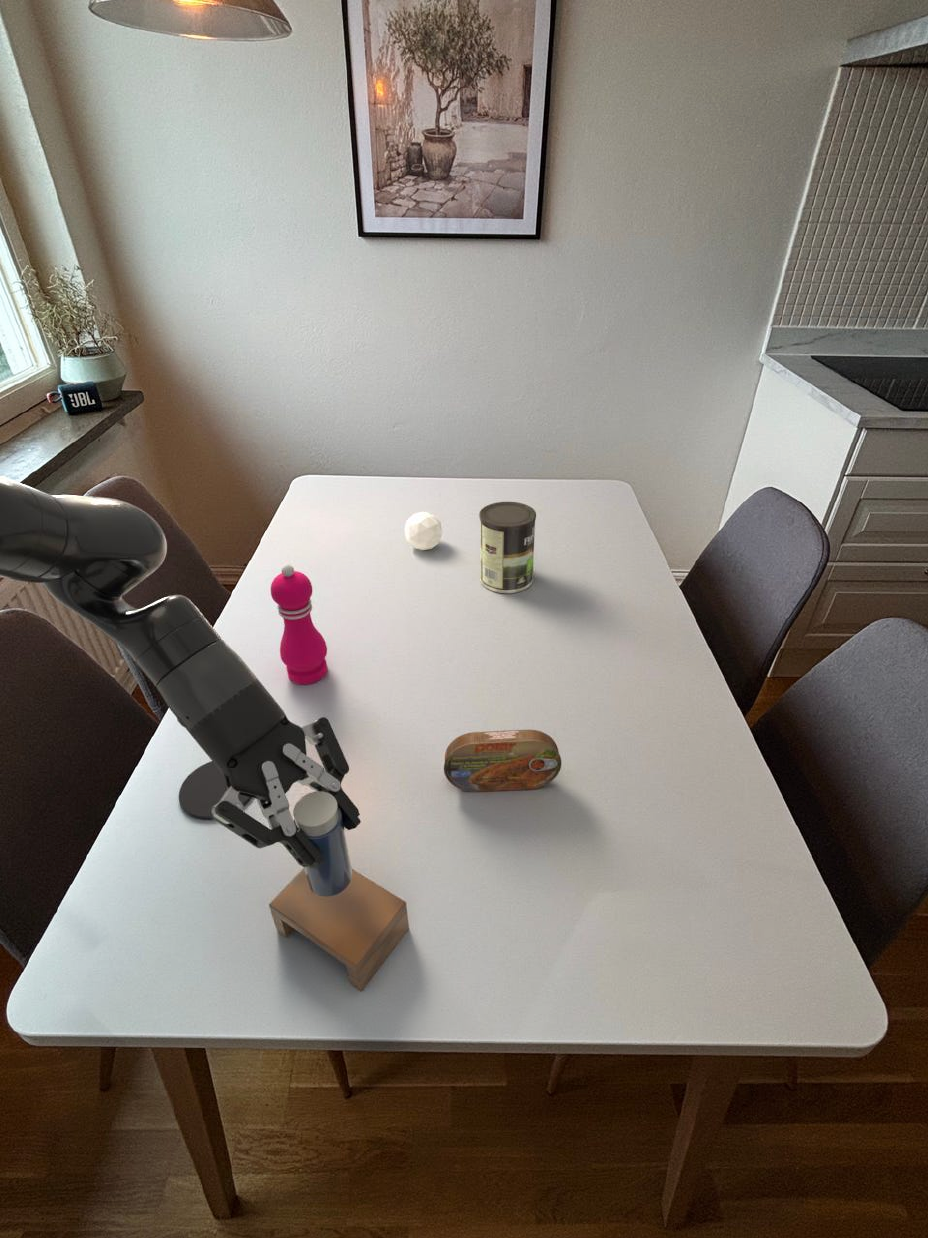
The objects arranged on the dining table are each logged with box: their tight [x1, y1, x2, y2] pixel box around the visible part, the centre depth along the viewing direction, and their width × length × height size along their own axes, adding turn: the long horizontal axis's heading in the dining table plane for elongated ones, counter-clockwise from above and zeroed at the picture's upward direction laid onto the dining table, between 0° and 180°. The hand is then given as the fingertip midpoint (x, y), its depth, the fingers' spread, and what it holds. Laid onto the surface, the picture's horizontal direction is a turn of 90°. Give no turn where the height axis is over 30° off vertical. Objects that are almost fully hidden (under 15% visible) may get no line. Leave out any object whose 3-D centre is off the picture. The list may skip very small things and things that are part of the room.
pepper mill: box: [270, 564, 328, 685], centre depth 104 cm, size 7×7×20 cm
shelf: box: [268, 867, 410, 992], centre depth 72 cm, size 8×12×5 cm, turn 57°
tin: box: [443, 729, 562, 793], centre depth 88 cm, size 15×3×8 cm, turn 92°
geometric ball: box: [404, 511, 443, 551], centre depth 140 cm, size 8×8×8 cm
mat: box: [178, 760, 252, 821], centre depth 90 cm, size 10×10×1 cm
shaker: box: [292, 791, 353, 897], centre depth 65 cm, size 4×4×10 cm
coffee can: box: [478, 501, 537, 594], centre depth 127 cm, size 10×10×14 cm
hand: (336, 844), depth 64 cm, fingers closed on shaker, 4 cm apart
